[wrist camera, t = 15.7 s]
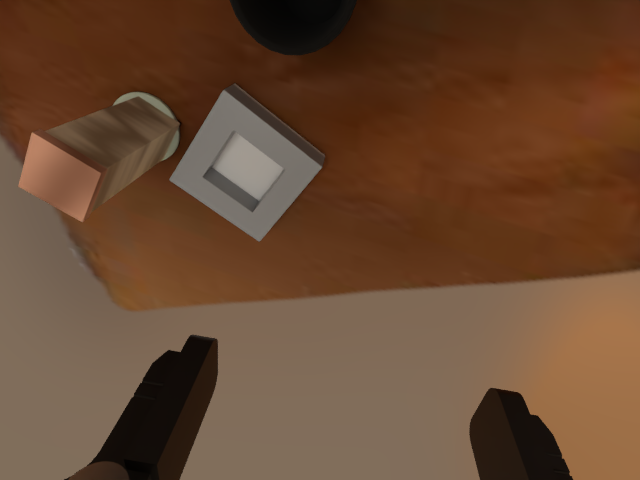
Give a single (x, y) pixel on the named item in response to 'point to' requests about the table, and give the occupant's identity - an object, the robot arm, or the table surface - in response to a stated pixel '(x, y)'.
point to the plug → (96, 155)
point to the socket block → (247, 163)
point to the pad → (161, 106)
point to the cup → (293, 22)
